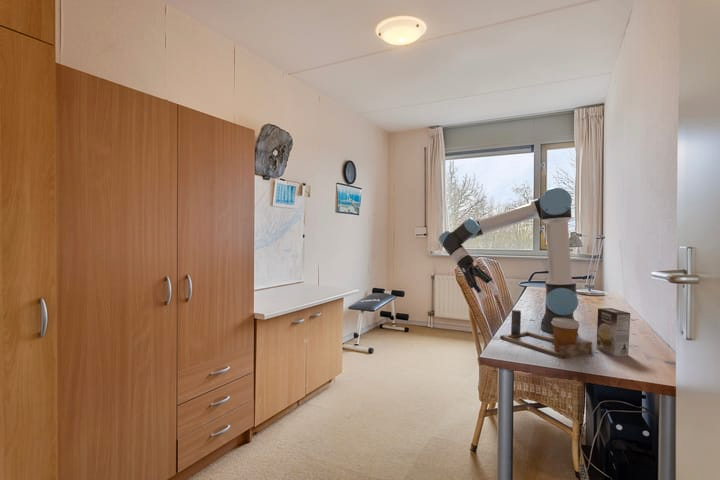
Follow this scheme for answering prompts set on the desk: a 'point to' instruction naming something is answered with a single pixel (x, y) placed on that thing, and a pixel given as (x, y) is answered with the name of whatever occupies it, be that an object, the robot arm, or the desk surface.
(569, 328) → the disposable coffee cup
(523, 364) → the desk surface
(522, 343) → the frame
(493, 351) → the desk surface
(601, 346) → the coffee box
